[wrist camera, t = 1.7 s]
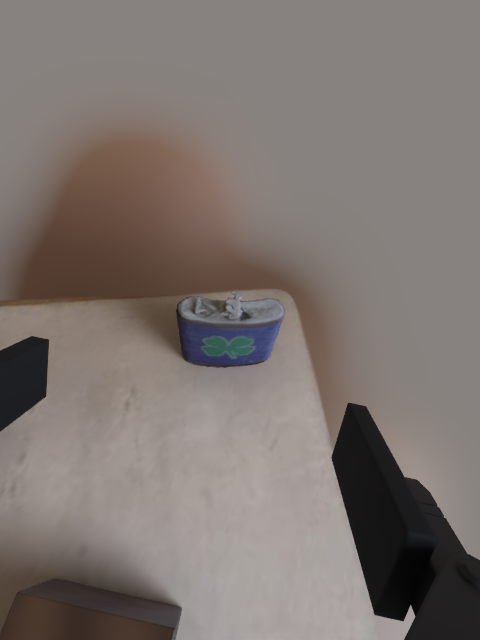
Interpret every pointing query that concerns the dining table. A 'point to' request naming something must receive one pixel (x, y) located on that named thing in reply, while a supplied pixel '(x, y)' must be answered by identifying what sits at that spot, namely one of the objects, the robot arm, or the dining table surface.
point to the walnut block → (87, 615)
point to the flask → (228, 330)
